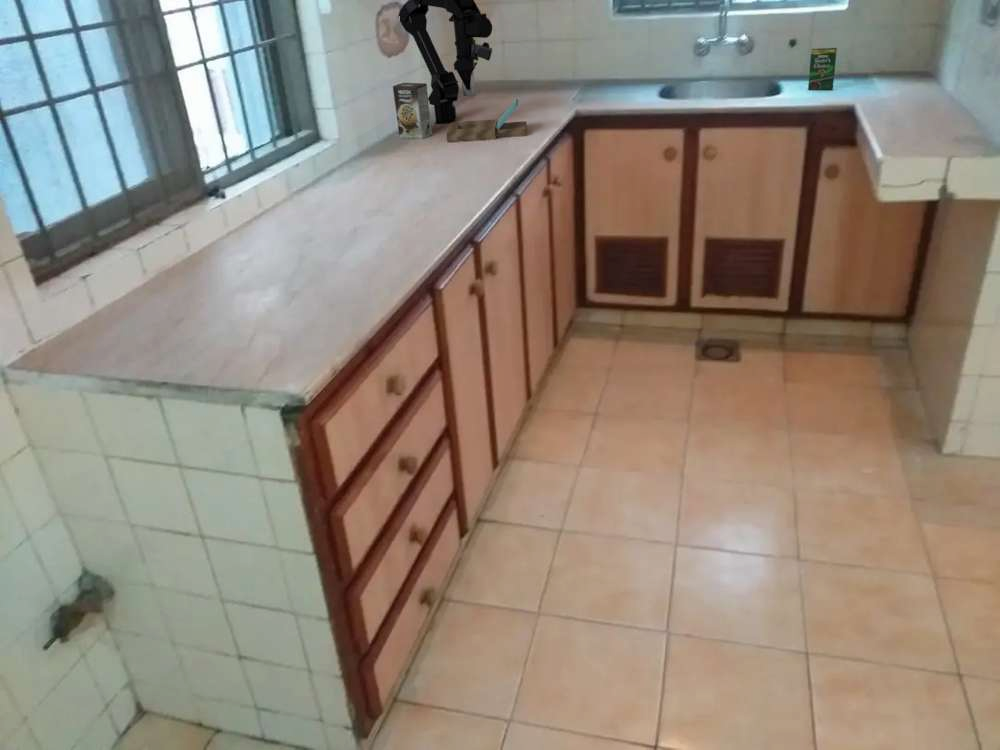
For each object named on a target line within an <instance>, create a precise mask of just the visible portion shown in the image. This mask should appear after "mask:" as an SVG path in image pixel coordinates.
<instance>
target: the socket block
mask: <svg viewBox="0 0 1000 750" xmlns="http://www.w3.org/2000/svg"><path fill="white" fill-rule="evenodd" d="M498 120H499V119H497V118H496V119H482V120H467V121H466V120H464V121H454V122H451V123H449V127H448V128H447V130H446V143H447V142H449V143H460V142H459V141H464V142H474V141H473V140H479V141H487V140H486V139H494V140H496V139H497V137H501V138H511V136H516V137H526V136H527V130H528V127H527V126H528V125H527V124H528V123H527V121H510V122H509V121H508V122H504V123H503V125H502V126H501V127H500V128H499V129H497V128H496V127H497V123H498ZM496 135H497V136H496Z"/></svg>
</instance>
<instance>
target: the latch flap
mask: <svg viewBox="0 0 1000 750" xmlns="http://www.w3.org/2000/svg"><path fill="white" fill-rule="evenodd" d="M518 104H519V99H518V98H516V99H515V100H514V101H513V102H512V103H511V105H510V106H509V107H508V108H507V109H506V111H505V112H504V113H503V114H502V116H501V117H500V118H499V119H498V123H497V127H496V128H497V129H499V128H500V127H501V126H502V125H503V123H506V121H507V120H508V119H509V118H510V117H511V115H512V114H513V112H515V111H516V109H517V108H518Z"/></svg>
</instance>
